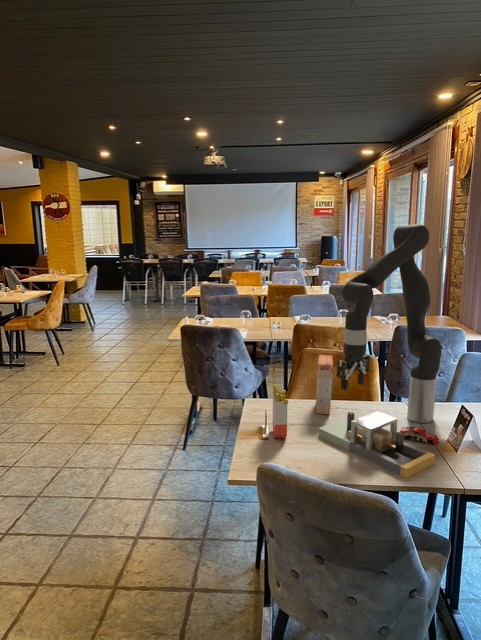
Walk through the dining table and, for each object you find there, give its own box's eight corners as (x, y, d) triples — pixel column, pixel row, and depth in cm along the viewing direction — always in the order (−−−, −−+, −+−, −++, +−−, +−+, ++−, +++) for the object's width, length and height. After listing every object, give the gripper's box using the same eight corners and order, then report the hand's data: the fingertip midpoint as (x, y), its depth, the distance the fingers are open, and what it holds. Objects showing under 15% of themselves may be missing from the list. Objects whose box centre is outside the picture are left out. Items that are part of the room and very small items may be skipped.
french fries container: (284, 428, 178) (285, 382, 174) (287, 441, 167) (289, 392, 164) (272, 428, 178) (273, 382, 174) (274, 441, 167) (275, 392, 164)
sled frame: (356, 424, 173) (357, 409, 172) (411, 447, 156) (412, 430, 154) (338, 432, 167) (338, 415, 166) (392, 456, 150) (393, 439, 148)
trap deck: (346, 425, 181) (346, 417, 180) (434, 463, 152) (434, 454, 152) (318, 435, 172) (318, 428, 171) (405, 478, 144) (406, 469, 143)
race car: (439, 441, 169) (440, 430, 168) (437, 447, 164) (438, 436, 163) (400, 433, 175) (401, 422, 174) (397, 438, 170) (398, 428, 169)
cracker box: (330, 415, 190) (332, 364, 186) (315, 414, 191) (316, 363, 187) (331, 402, 203) (333, 355, 199) (316, 401, 204) (318, 354, 200)
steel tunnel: (376, 431, 169) (377, 411, 167) (396, 439, 162) (397, 418, 161) (350, 441, 160) (351, 420, 159) (369, 450, 154) (371, 429, 153)
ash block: (367, 433, 167) (367, 422, 166) (391, 443, 159) (392, 432, 158) (355, 437, 164) (356, 426, 163) (380, 448, 156) (380, 437, 155)
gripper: (359, 336, 170) (357, 379, 173) (332, 342, 161) (330, 388, 165) (377, 340, 164) (374, 385, 167) (349, 346, 155) (347, 394, 159)
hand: (352, 386), depth 166 cm, fingers open, 8 cm apart
